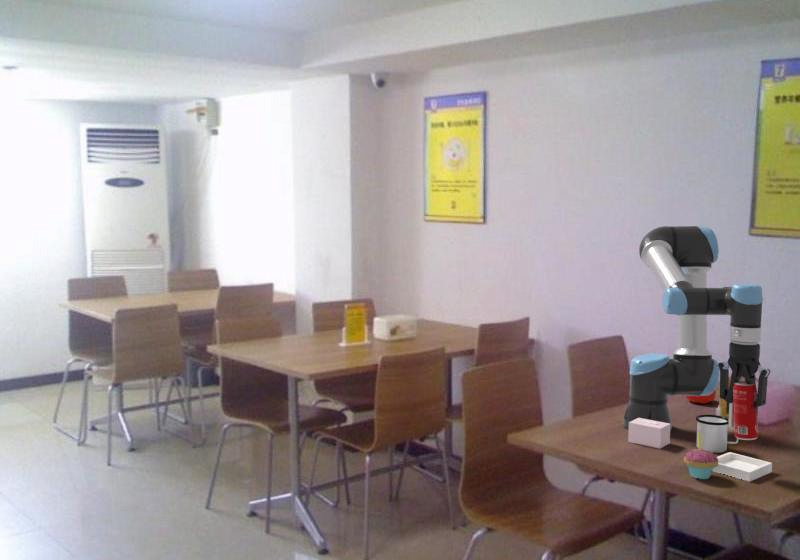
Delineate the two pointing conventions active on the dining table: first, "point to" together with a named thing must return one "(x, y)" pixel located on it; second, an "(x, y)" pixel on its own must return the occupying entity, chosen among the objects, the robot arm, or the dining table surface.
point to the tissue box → (649, 433)
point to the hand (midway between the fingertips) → (741, 428)
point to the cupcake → (700, 461)
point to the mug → (713, 433)
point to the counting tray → (742, 466)
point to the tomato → (702, 398)
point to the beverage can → (745, 411)
